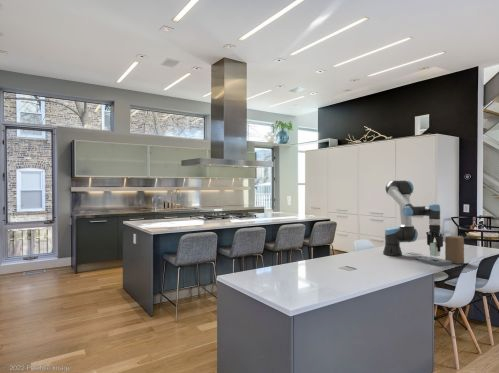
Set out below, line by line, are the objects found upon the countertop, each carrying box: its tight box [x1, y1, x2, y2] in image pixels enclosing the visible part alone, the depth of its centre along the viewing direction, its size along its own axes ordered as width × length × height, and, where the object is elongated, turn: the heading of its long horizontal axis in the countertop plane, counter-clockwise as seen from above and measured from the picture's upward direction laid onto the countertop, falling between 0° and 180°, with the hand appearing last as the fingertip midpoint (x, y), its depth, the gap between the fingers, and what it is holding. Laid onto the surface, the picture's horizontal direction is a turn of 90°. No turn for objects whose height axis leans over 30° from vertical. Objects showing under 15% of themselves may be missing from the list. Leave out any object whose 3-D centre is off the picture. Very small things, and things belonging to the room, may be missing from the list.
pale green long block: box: [429, 241, 437, 257], centre depth 259 cm, size 4×4×10 cm
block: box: [444, 235, 465, 265], centre depth 263 cm, size 10×10×20 cm
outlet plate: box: [417, 256, 453, 267], centre depth 262 cm, size 18×14×2 cm
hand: (435, 255), depth 259 cm, fingers closed on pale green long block, 4 cm apart
